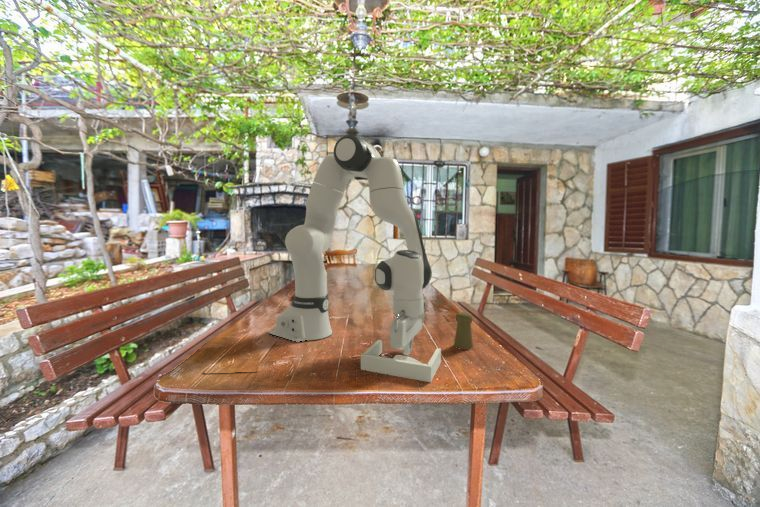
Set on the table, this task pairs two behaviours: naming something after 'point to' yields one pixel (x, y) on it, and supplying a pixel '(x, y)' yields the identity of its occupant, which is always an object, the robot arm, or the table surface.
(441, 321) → the table surface
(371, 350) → the box
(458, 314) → the green tapered cylinder
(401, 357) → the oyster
